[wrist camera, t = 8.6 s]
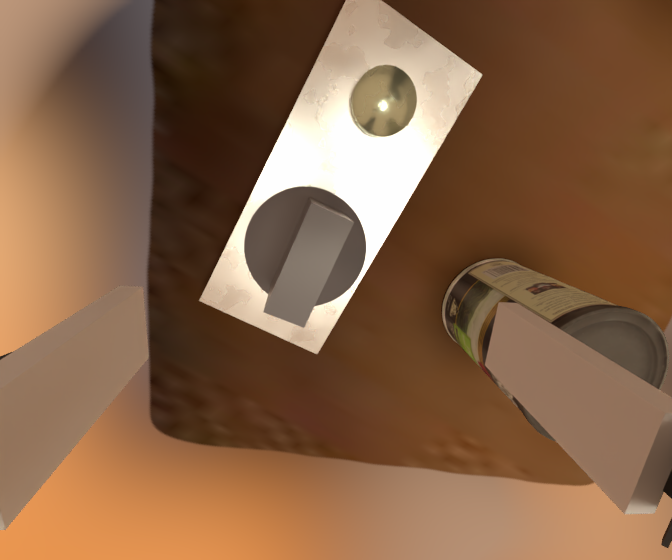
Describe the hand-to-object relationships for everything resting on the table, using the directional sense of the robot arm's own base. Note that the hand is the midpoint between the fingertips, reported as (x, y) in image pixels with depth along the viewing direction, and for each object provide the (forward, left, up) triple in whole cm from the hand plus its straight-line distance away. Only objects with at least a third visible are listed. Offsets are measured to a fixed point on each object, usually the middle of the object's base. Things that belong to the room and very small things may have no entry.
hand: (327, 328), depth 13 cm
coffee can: (-2, +20, -21) cm, 29 cm away
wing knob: (+1, 0, -19) cm, 19 cm away
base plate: (-4, 0, -21) cm, 21 cm away
